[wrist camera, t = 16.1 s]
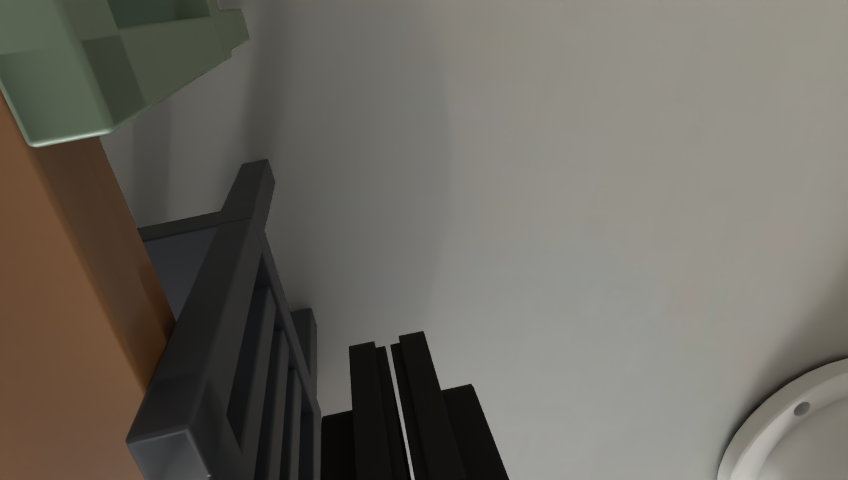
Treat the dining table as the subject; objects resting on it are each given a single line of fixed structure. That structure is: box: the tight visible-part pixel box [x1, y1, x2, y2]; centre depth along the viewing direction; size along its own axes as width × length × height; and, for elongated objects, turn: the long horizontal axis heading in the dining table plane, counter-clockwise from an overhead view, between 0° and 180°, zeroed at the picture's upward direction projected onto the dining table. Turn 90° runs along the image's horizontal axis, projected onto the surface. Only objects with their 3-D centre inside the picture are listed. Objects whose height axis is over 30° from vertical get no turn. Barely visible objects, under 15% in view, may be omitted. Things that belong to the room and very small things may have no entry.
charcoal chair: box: [126, 159, 321, 480], centre depth 13 cm, size 7×7×13 cm
